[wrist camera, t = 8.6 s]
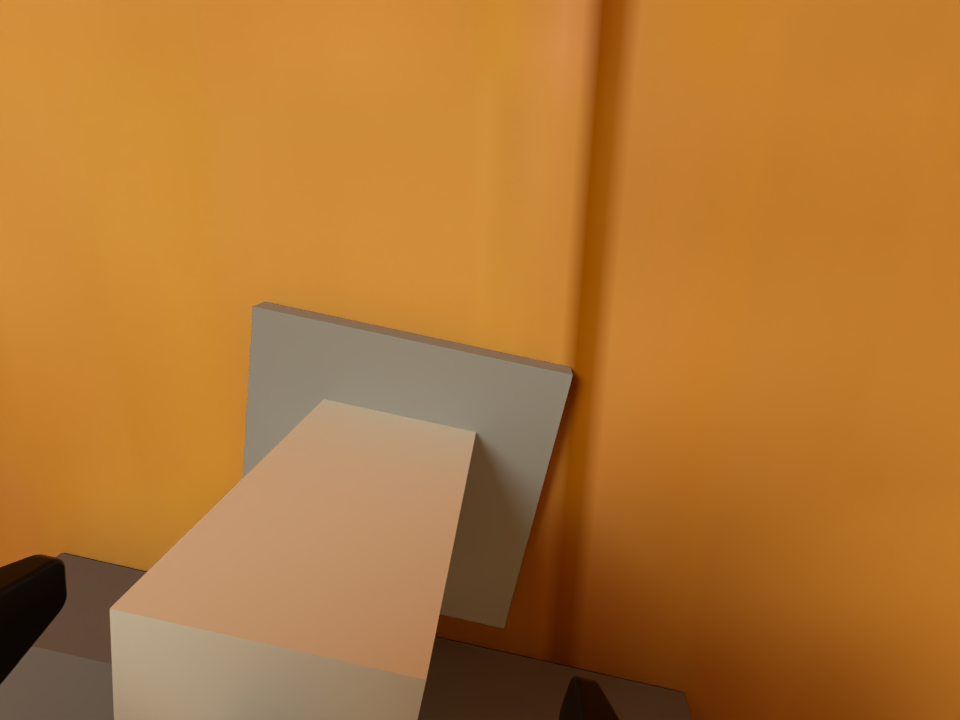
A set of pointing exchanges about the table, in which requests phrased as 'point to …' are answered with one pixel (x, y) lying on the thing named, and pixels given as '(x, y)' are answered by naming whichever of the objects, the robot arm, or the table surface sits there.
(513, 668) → the grey flat block
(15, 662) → the robot arm
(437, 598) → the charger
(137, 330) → the table surface
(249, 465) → the grey square plate
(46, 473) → the table surface
